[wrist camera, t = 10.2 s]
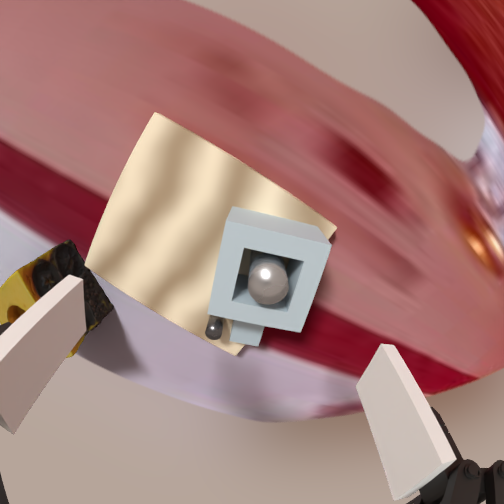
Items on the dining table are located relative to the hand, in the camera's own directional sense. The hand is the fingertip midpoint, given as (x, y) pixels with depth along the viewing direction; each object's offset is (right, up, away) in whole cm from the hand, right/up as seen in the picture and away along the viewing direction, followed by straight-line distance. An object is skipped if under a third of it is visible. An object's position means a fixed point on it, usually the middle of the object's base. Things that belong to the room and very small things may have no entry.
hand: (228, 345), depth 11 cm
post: (+2, +3, +16) cm, 17 cm away
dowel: (-3, -3, +18) cm, 19 cm away
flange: (+2, +1, +17) cm, 17 cm away
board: (-4, +5, +17) cm, 19 cm away
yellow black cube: (-22, -1, +20) cm, 30 cm away
